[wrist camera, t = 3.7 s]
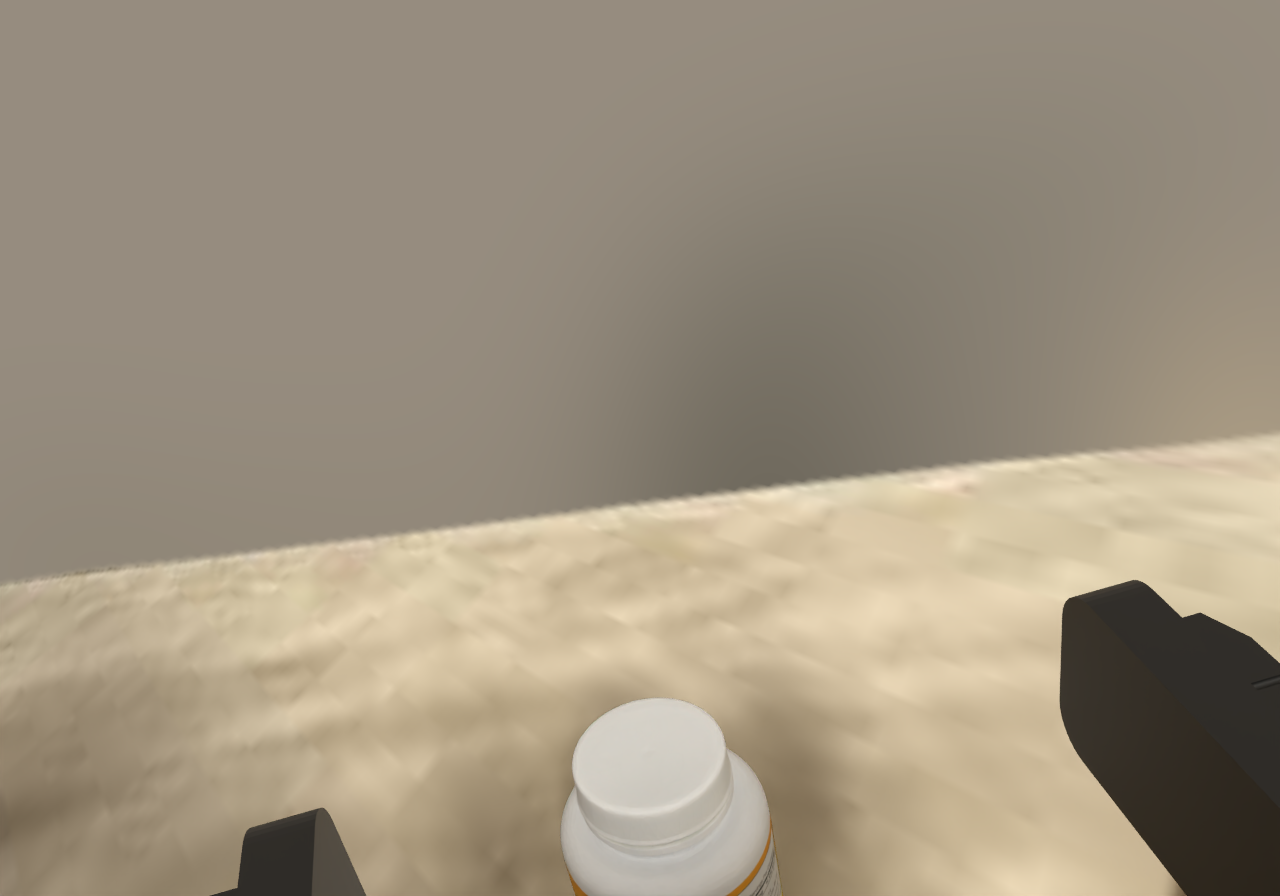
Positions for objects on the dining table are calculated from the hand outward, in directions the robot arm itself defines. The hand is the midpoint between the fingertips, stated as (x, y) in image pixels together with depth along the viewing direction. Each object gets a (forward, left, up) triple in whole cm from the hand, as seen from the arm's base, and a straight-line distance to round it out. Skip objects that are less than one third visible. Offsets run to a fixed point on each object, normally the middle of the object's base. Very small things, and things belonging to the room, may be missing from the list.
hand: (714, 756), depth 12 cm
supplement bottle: (0, +12, -22) cm, 25 cm away
